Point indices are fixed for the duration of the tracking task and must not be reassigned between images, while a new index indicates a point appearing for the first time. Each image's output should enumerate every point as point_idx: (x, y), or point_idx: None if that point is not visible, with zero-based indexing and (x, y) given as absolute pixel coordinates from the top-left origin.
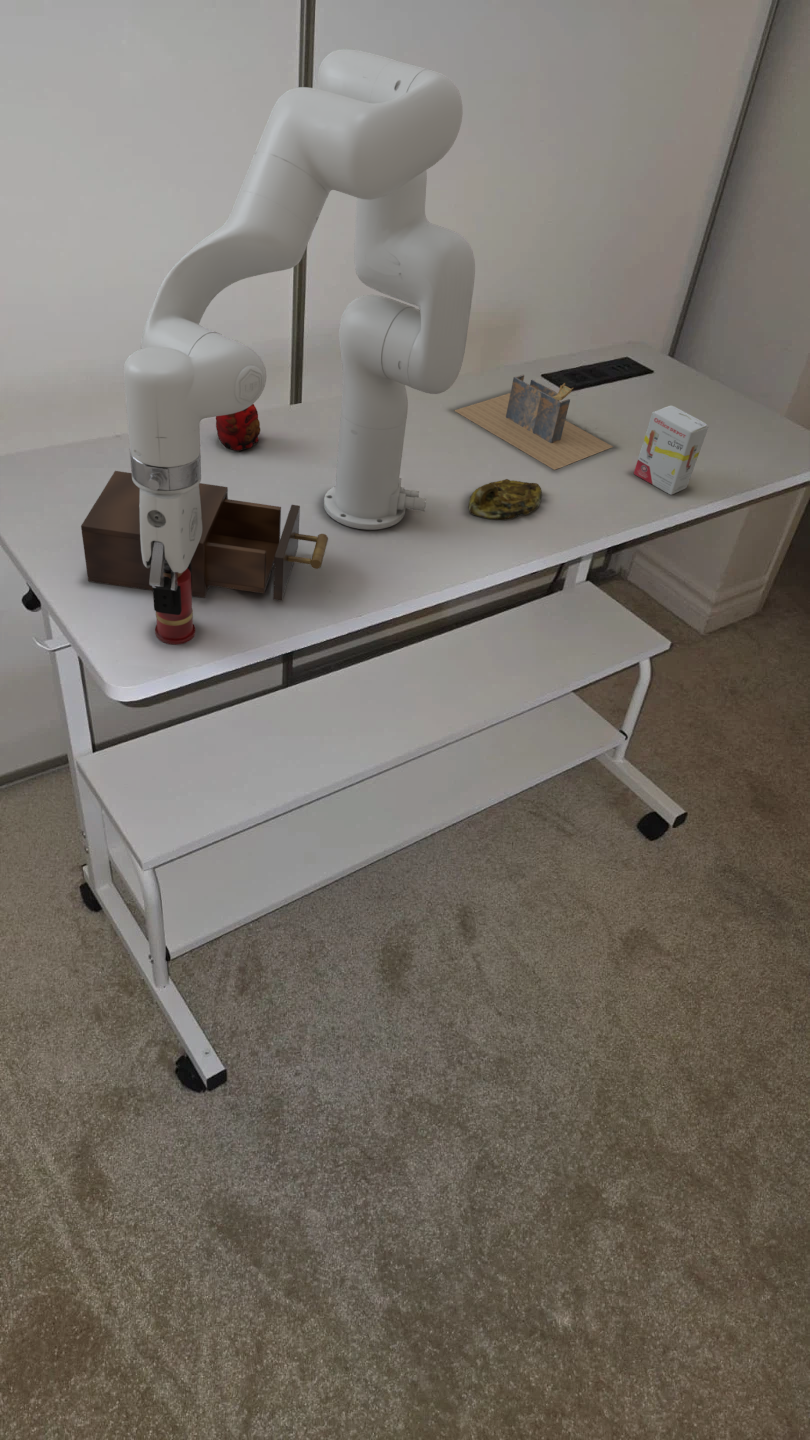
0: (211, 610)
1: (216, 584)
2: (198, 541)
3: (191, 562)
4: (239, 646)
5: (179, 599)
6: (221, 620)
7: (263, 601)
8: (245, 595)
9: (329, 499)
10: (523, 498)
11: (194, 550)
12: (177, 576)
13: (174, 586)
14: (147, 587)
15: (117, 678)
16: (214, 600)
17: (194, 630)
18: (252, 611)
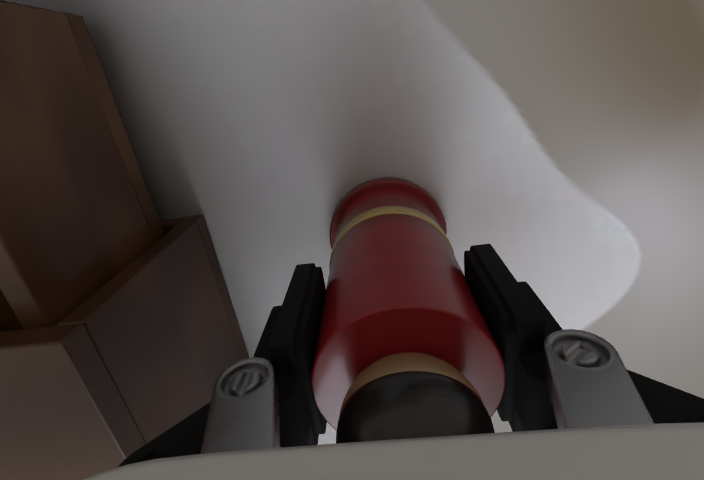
0: (247, 175)
1: (147, 201)
2: (234, 475)
3: (153, 317)
4: (387, 12)
5: (513, 282)
6: (279, 127)
7: (110, 21)
8: (118, 99)
9: None
10: None
11: (419, 466)
12: (562, 388)
13: (617, 360)
14: (245, 356)
15: (608, 292)
16: (197, 184)
17: (376, 184)
18: (184, 41)
